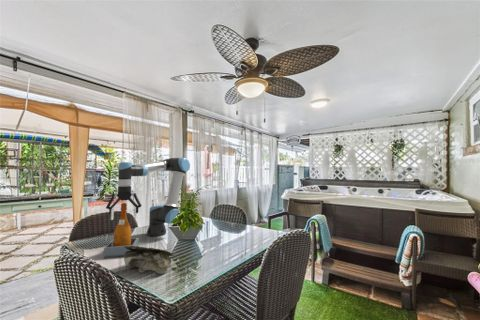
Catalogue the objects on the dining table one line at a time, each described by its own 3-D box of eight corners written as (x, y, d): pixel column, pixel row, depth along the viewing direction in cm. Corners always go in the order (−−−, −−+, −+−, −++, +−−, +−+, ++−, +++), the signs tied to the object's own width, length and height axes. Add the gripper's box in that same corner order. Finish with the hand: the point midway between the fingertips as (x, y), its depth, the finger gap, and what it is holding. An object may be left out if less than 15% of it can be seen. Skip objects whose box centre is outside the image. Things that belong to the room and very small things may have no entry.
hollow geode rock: (123, 275, 116) (107, 262, 107) (136, 252, 126) (122, 238, 116) (168, 281, 108) (155, 268, 99) (178, 256, 118) (167, 242, 109)
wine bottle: (109, 251, 134) (111, 203, 136) (124, 246, 143) (126, 201, 144) (119, 254, 130) (121, 204, 131) (134, 249, 138) (135, 202, 140)
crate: (138, 246, 146) (138, 237, 146) (133, 255, 131) (133, 245, 131) (112, 248, 142) (112, 239, 142) (103, 258, 126) (104, 247, 127)
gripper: (146, 185, 145) (145, 216, 145) (104, 185, 139) (103, 218, 138) (144, 185, 138) (143, 219, 137) (100, 186, 131) (99, 221, 131)
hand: (123, 218), depth 138 cm, fingers open, 13 cm apart
